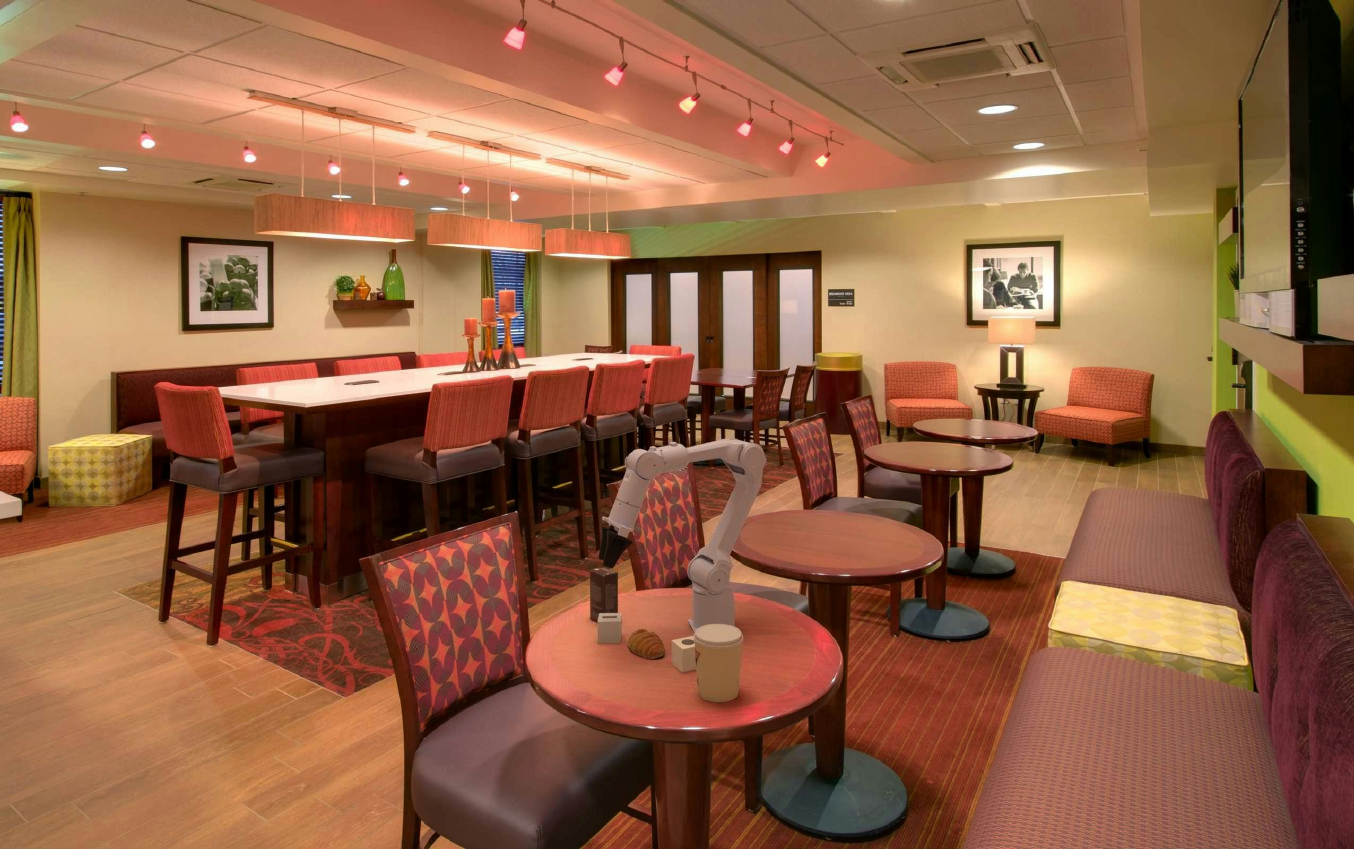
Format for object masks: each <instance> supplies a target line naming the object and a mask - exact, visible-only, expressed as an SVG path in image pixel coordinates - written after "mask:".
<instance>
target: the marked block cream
mask: <svg viewBox="0 0 1354 849" xmlns="http://www.w3.org/2000/svg"><path fill="white" fill-rule="evenodd" d="M671 664H672V665H673V666H675V667H676V668H677V669H678V670H679V671H680V672H682V673H687V672H690V671H696V660H695V643H694V635H691V636H687V637H680V638H676V639H671Z"/></svg>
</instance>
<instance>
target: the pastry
mask: <svg viewBox="0 0 1354 849" xmlns="http://www.w3.org/2000/svg"><path fill="white" fill-rule="evenodd" d="M627 645H628V647H629V648H628V649H629V650H630V651H632V653H633V654H635V655H638V656H640V657H642V658H644V659H649V660H655V659H657V658H660V657H663V656H664V655H665V652H666V648H665V644H664V643H663V640H662V639H661V638H660V636H659V635H658V634H657V633H656V632H655V631H649V630H648V629H645V628H639V629H637V630H636V631H634V632H632V633H631V635H629V637H628V640H627Z"/></svg>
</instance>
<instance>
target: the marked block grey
mask: <svg viewBox="0 0 1354 849" xmlns="http://www.w3.org/2000/svg"><path fill="white" fill-rule="evenodd" d="M622 625H623V624H622V612H618V613H599V617H598V622H597V644H621V643H622V637H623V636H622V635H623V634H622V633H623V632H622Z"/></svg>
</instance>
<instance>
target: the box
mask: <svg viewBox="0 0 1354 849" xmlns="http://www.w3.org/2000/svg"><path fill="white" fill-rule="evenodd" d="M589 599H590V600H589V618H590V619H591V620H593V621H595V622H597V623H598V617H599V613H619V572H618V571H614V570H613V569H611V568H608V567H606V566H603V567H602V566H601V567H597V568H593V569H590V570H589Z"/></svg>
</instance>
